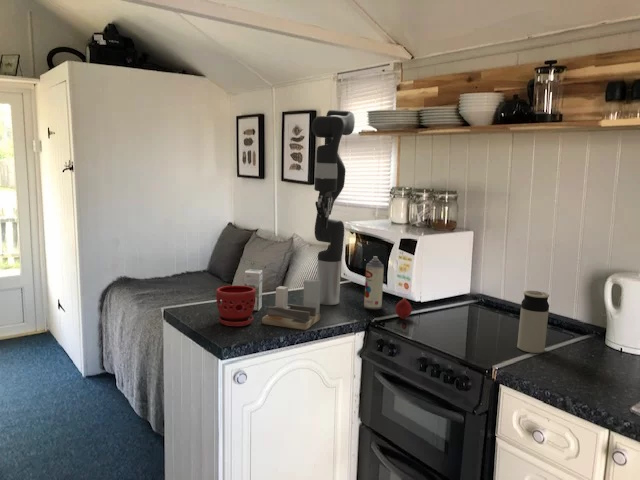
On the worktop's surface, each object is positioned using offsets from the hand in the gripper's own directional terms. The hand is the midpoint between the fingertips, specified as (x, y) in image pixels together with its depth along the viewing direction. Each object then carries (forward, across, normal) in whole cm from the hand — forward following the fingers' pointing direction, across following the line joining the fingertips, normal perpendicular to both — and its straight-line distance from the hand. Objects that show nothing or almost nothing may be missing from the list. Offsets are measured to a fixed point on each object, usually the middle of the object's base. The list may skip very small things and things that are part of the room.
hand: (323, 228), depth 183 cm
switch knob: (+31, +4, -13) cm, 34 cm away
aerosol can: (+33, -28, +12) cm, 45 cm away
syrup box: (+33, -4, -28) cm, 44 cm away
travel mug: (+33, -3, +69) cm, 77 cm away
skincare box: (+33, -10, -7) cm, 35 cm away
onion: (+33, -17, +26) cm, 45 cm away
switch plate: (+33, +4, -9) cm, 34 cm away
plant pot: (+33, +14, -25) cm, 44 cm away
